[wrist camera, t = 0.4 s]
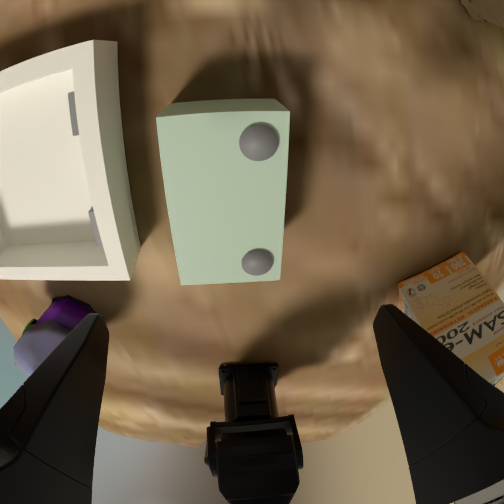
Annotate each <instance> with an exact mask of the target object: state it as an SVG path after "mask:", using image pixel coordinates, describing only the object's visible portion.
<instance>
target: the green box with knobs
mask: <svg viewBox="0 0 504 504" xmlns="http://www.w3.org/2000/svg"><path fill="white" fill-rule="evenodd" d="M156 121H157V131H158V141H159V149H160V158H161V166H162V173H163V181H164V188H165V195H166V202H167V208H168V214H169V221H170V227H171V233H172V238H173V244H174V250H175V255H176V261H177V266H178V271H179V276H180V281H181V285H198V284H219V283H238V282H256V281H272V280H280V272H281V259H282V245H283V231H284V216H285V201H286V184H287V166H288V146H289V124H290V111H289V110H288V109H287V108H285V107H284V106H283V105H282V104H281V103H280V102H278V101H277V100H276V99H222V100H204V101H191V102H179V103H171V104H170V105H169V106H168V107H167V108H166V109H165V110H164V111H162V112H161V113H160V114H159V115H158V116H157V117H156Z"/></svg>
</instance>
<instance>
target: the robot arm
mask: <svg viewBox="0 0 504 504" xmlns="http://www.w3.org/2000/svg"><path fill="white" fill-rule="evenodd" d="M373 329H374V333H375V338H376V342H377V347H378V352H379V357H380V361H381V366H382V369H383V373H384V376H385V379H386V382H387V386H388V389H389V392H390V396H391V399H392V402H393V406H394V409H395V413H396V417H397V421H398V424H399V428H400V432H401V436H402V440H403V444H404V448H405V452H406V456H407V461H408V465H409V470H410V474H411V479H412V484H413V489H414V494H415V500H416V504H450V503H453V502H454V504H504V393H503V392H502V391H500V390H499V389H498V388H496V387H495V386H494V385H492V384H491V383H490V382H488V381H487V380H486V379H484V378H483V377H482V376H480V375H479V374H478V373H477V372H475V371H474V370H473V369H472V368H471V367H470V366H468V365H467V364H466V363H464V361H462V360H461V359H460V358H459V357H458V356H456V355H455V354H454V353H453V352H452V351H450V350H449V349H448V348H447V347H446V346H444V345H443V344H442V343H441V342H439V341H438V340H437V339H436V338H435V337H433V336H432V335H431V334H430V333H428V332H427V331H426V330H425V329H423V328H422V327H421V326H420V325H418V324H417V323H416V322H415V321H413V320H412V319H411V318H410V317H408V316H407V315H406V314H405V313H403V312H402V311H401V310H400V309H398V308H397V307H396V306H394V305H393V304H385V305H382V306H380V308H379V310H378V313H377V315H376V317H375V319H374V322H373ZM108 344H109V331H108V328H107V326H106V323H105V321H104V319H103V316H102V315H101V314H98V313H90V314H88V315H87V316H86V317H85V318H84V319H83V320H82V321H81V322H80V323H79V324H78V325H77V326H76V327H75V328H74V329H73V330H72V331H71V332H70V333H69V334H68V335H67V336H66V337H65V338H64V339H63V341H62V342H61V343H60V344H59V345H58V346H57V347H56V348H55V349H54V350H53V351H52V352H51V353H50V354H49V356H48V357H47V358H46V359H45V360H44V361H43V362H42V363H41V364H40V365H39V366H38V368H37V369H36V370H35V371H34V372H33V373H32V374H31V375H30V377H29V378H28V379H27V380H26V381H25V382H24V385H22V386H21V387H20V388H19V389H18V390H17V392H16V393H15V394H14V395H13V396H12V397H11V398H10V399H9V400H8V402H7V403H6V404H5V405H4V406H3V407H2V408H1V409H0V504H91V503H92V502H91V501H92V480H93V467H94V456H95V447H96V437H97V430H98V422H99V415H100V409H101V402H102V396H103V390H104V385H105V378H106V367H107V355H108ZM278 370H279V367H278V364H276V363H273V364H258V365H239V366H221V367H219V379H220V389H221V394H222V395H224V407H225V422H216V421H214V422H210V426H209V427H207V445H206V451H205V459H204V461H205V464H206V465H208V466H209V467H210V470H211V472H212V476H213V477H218V485H219V490H220V492H221V493H222V495H223V496H224V497H225V499H226V500H227V501H228V502H229V503H230V504H289V503H290V501H291V500H292V498H293V495H294V494H295V492H296V490H297V488H298V485H299V473H298V469H302V468H303V454H302V447H301V442H300V438H299V435H298V431H297V427H296V423H295V419H294V415H293V414H292V415H288V416H283V417H279V415H278V409H277V402H276V396H275V384H276V379H277V375H278Z"/></svg>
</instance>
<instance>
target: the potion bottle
mask: <svg viewBox="0 0 504 504" xmlns="http://www.w3.org/2000/svg"><path fill="white" fill-rule="evenodd" d="M90 313H95V312H94V311H93V309H92V308H91V307H90V305H89V304H86V303H84V302H82V301H80V300H78V299H75V298H73V297H71V296H69V295H68V296H63V297H58V298H53V300H52V304H51V305H50V306H49V308H48V309H47V310H46V311H45V312H44V314H43V315H42V316H41V317H40V318H39V320H38V321H37V320H36V319H32V320H31V321H30V322H29V323H28V324H27V326H26V327H25V329H24V331H23V334H22V336H21V338H20V339H19V340H18V342H17V343H16V344H15V346H14V356H15V364H16V365H17V366H18V367H19V368H20V369H21V370H22V371H23V372H24V373H26V374H27V375H28V376H29V377H30V375H31V374H32V373H33V372H34V371H35V370H36V369H37V368H38V366H39V365H40V364H41V363H42V362H43V361H44V360H45V359H46V358H47V357H48V356H49V354H50V353H51V352H52V351H53V350H54V349H55V348H56V347H57V346H58V345H59V344H60V343H61V342H62V341H63V339H64V338H65V337H66V336H67V335H68V334H69V333H70V332H71V331H72V330H73V329H74V328H75V327H76V326H77V325H78V324H79V323H80V322H81V321H82V320H83V319H84V318H85V317H86V316H87V315H88V314H90Z"/></svg>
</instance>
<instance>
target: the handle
mask: <svg viewBox="0 0 504 504" xmlns="http://www.w3.org/2000/svg"><path fill="white" fill-rule="evenodd" d="M460 2H461V4H462V5H463V6H464V7H465V8H466V9H467V11H468V12H469V15H470V16H471V17H472V18H473V19H474V20H477V21H481V22H486V21H488V22H490V23H492V24H495V25H498V26H502V27H504V0H460Z"/></svg>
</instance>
